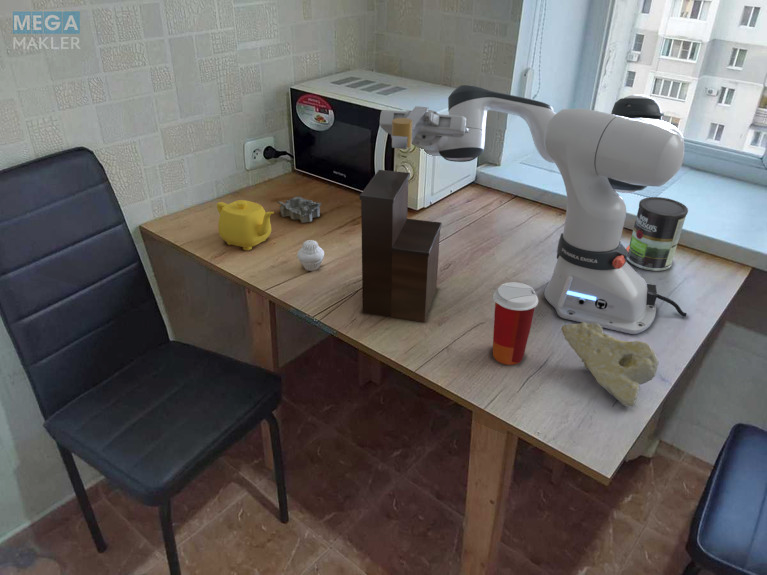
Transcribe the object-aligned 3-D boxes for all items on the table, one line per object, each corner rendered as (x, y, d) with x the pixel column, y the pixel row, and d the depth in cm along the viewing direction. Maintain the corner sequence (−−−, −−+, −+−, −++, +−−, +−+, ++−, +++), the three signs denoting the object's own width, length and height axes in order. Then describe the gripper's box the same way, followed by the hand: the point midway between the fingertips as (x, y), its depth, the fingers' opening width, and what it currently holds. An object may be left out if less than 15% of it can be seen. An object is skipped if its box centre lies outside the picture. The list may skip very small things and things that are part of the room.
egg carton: (276, 215, 165) (275, 200, 163) (295, 205, 170) (294, 192, 168) (305, 225, 160) (304, 210, 158) (324, 215, 165) (323, 201, 163)
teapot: (291, 242, 152) (288, 202, 146) (262, 260, 144) (257, 219, 138) (236, 225, 159) (231, 186, 154) (205, 242, 151) (199, 202, 146)
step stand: (425, 323, 122) (431, 203, 109) (361, 313, 125) (359, 195, 111) (437, 288, 134) (444, 176, 120) (378, 280, 136) (378, 169, 123)
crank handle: (409, 149, 121) (409, 124, 119) (389, 147, 122) (389, 122, 120) (430, 118, 139) (431, 96, 137) (412, 116, 140) (413, 94, 138)
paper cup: (523, 342, 117) (533, 280, 110) (533, 368, 111) (544, 303, 103) (482, 343, 117) (490, 280, 109) (490, 369, 110) (498, 304, 103)
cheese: (664, 411, 104) (655, 326, 109) (662, 404, 98) (653, 315, 103) (571, 412, 110) (567, 332, 115) (564, 406, 104) (560, 321, 109)
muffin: (329, 269, 140) (328, 242, 136) (305, 276, 137) (303, 249, 134) (317, 258, 145) (316, 232, 141) (293, 265, 142) (291, 238, 138)
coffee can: (646, 274, 139) (661, 218, 132) (616, 254, 148) (629, 200, 140) (682, 266, 143) (698, 211, 135) (651, 247, 151) (665, 194, 143)
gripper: (467, 146, 147) (462, 133, 134) (385, 138, 152) (372, 125, 138) (471, 120, 147) (466, 104, 134) (389, 113, 151) (376, 97, 138)
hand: (418, 114), depth 136 cm, fingers closed on crank handle, 3 cm apart
